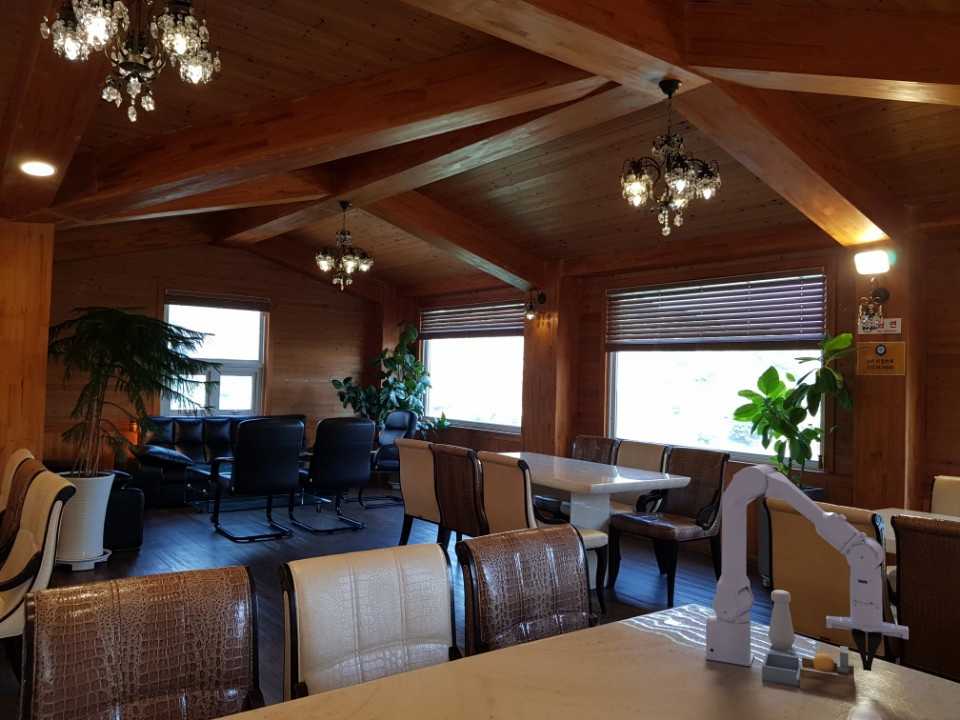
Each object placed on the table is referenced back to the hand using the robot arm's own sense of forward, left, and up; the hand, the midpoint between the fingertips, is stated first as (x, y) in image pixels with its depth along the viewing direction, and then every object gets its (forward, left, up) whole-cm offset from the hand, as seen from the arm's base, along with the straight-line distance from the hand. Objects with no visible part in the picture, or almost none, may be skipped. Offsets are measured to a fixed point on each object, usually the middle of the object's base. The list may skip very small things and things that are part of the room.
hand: (867, 668), depth 144 cm
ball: (-8, 0, 0) cm, 8 cm away
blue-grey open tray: (-16, 0, -4) cm, 16 cm away
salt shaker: (-17, +19, -5) cm, 26 cm away
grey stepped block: (-4, 0, -2) cm, 5 cm away
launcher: (-7, 0, -4) cm, 8 cm away
